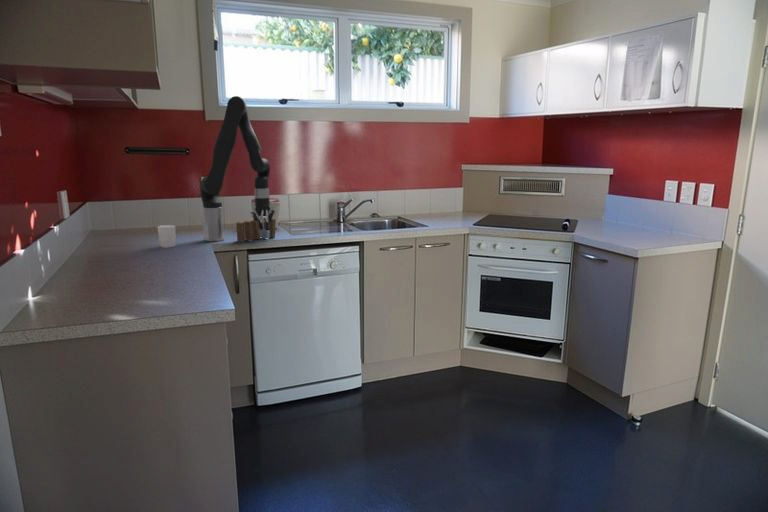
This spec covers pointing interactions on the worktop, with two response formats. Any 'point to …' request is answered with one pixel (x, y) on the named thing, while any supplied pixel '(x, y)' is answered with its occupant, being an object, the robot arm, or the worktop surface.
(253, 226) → the domino
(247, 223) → the domino
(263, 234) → the domino
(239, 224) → the domino
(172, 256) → the worktop surface
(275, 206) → the canister
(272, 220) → the domino
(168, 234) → the white cup
